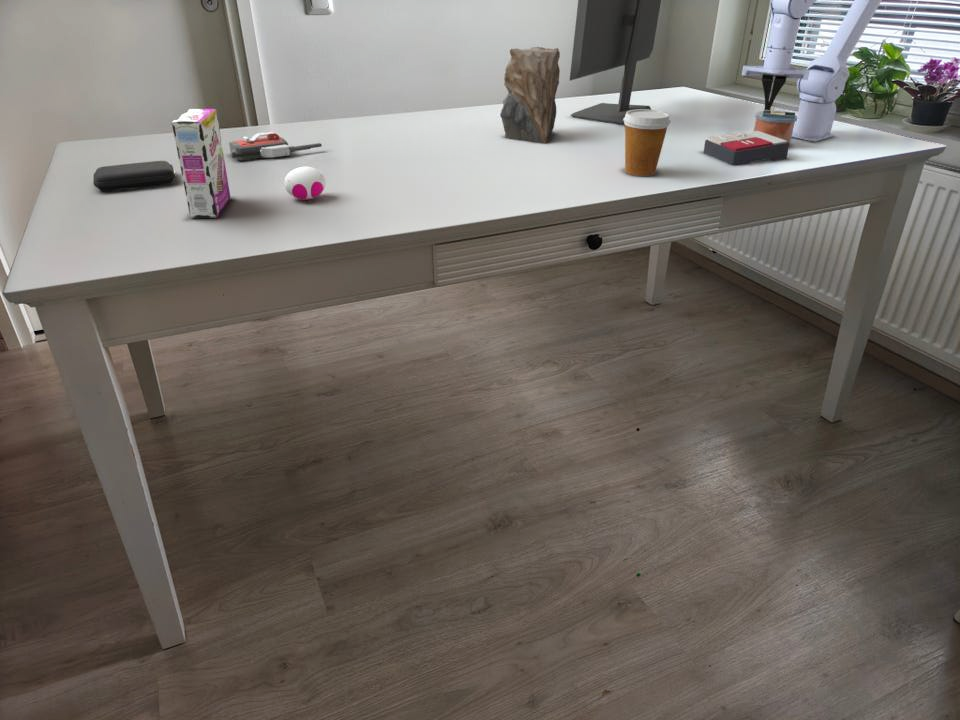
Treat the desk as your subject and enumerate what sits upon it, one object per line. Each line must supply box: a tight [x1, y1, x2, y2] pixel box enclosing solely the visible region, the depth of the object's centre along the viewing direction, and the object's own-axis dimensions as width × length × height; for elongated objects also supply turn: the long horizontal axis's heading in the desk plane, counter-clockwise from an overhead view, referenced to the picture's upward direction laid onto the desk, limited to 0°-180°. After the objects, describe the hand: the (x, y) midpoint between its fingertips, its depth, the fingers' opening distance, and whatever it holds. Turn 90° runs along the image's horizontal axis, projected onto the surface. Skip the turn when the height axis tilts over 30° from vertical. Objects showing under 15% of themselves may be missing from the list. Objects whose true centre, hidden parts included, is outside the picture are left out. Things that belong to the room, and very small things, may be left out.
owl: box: [499, 46, 561, 144], centre depth 170 cm, size 13×13×20 cm
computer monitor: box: [569, 0, 662, 126], centre depth 185 cm, size 44×16×40 cm, turn 144°
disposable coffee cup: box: [623, 109, 671, 177], centre depth 146 cm, size 10×10×12 cm
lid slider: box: [770, 104, 786, 115], centre depth 166 cm, size 3×3×2 cm
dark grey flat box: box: [703, 130, 791, 166], centre depth 160 cm, size 11×4×15 cm
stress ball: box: [283, 166, 327, 203], centre depth 131 cm, size 8×8×7 cm
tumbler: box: [753, 109, 797, 146], centre depth 169 cm, size 9×9×7 cm
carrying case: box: [93, 160, 177, 192], centre depth 139 cm, size 11×3×15 cm
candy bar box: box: [171, 108, 231, 219], centre depth 123 cm, size 11×5×16 cm, turn 5°
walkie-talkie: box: [228, 131, 322, 162], centre depth 157 cm, size 9×4×20 cm
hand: (767, 109), depth 167 cm, fingers closed
